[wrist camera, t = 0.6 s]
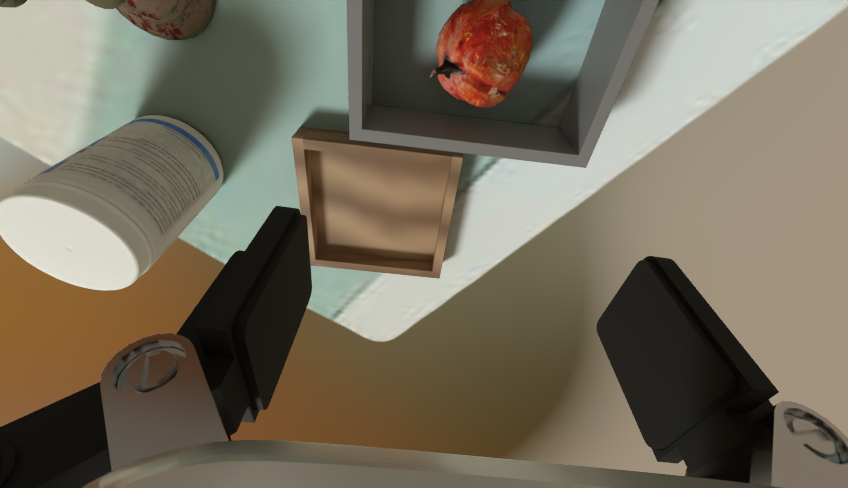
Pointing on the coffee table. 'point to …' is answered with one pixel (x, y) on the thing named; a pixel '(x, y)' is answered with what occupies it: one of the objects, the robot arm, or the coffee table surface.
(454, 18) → the pomegranate
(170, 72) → the coffee table surface
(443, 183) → the tray
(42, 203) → the supplement tub
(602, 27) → the grey open box
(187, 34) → the candlestick holder
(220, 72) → the coffee table surface
